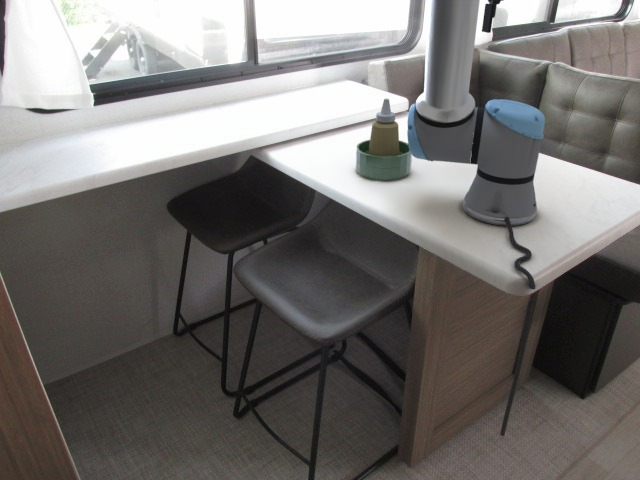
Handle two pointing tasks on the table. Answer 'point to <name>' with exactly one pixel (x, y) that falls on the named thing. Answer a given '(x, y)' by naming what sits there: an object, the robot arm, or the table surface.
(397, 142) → the squeeze bottle
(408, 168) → the bowl
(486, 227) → the table surface
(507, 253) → the table surface
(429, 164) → the table surface
